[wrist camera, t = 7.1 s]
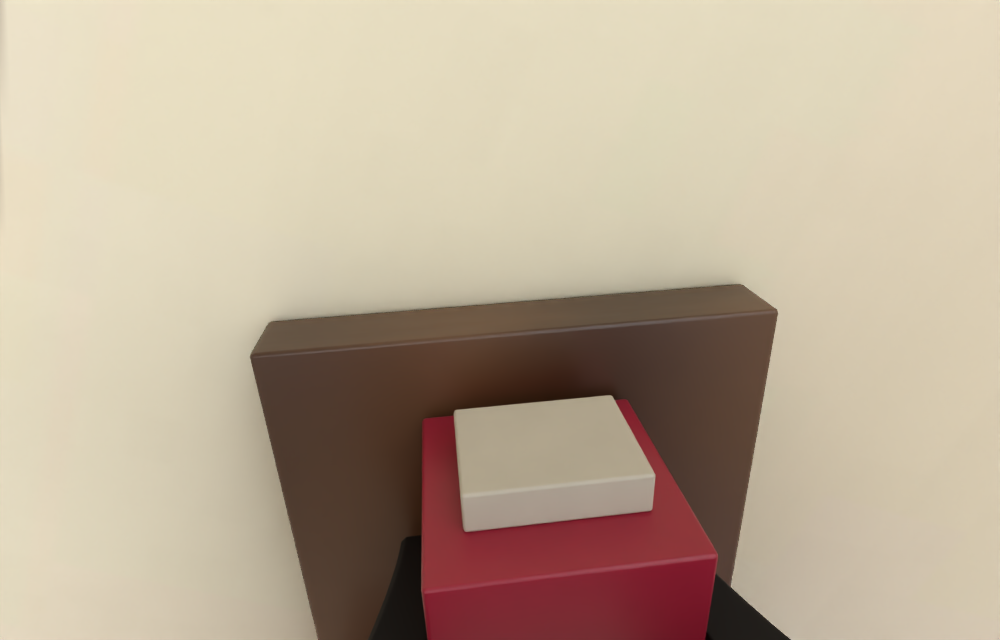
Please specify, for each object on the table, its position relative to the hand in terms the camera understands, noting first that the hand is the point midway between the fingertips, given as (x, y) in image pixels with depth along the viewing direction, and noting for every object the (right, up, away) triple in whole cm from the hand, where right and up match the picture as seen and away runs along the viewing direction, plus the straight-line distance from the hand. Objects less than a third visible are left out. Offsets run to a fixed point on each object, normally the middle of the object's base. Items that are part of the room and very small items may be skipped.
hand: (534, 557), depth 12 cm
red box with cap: (0, 0, 0) cm, 0 cm away
